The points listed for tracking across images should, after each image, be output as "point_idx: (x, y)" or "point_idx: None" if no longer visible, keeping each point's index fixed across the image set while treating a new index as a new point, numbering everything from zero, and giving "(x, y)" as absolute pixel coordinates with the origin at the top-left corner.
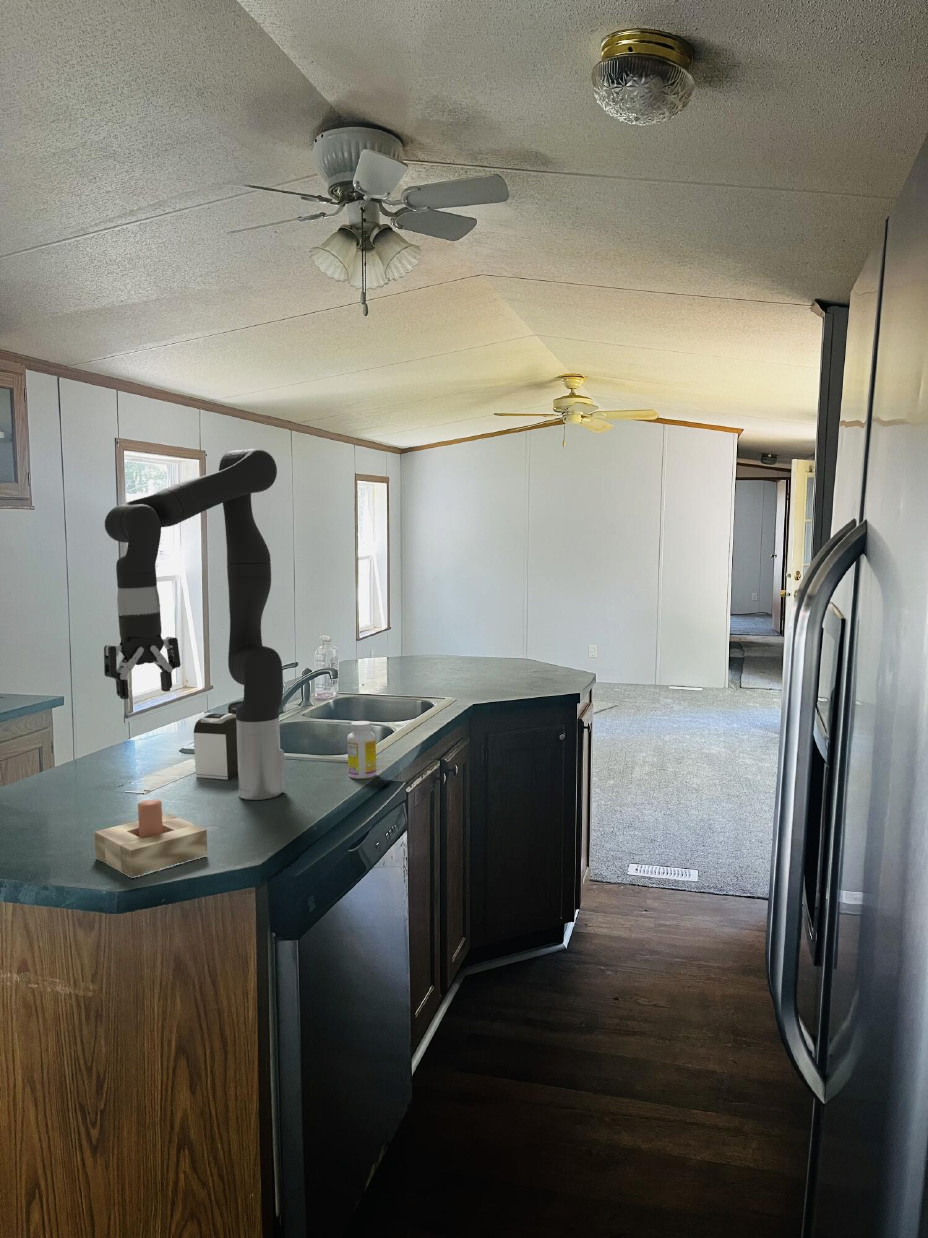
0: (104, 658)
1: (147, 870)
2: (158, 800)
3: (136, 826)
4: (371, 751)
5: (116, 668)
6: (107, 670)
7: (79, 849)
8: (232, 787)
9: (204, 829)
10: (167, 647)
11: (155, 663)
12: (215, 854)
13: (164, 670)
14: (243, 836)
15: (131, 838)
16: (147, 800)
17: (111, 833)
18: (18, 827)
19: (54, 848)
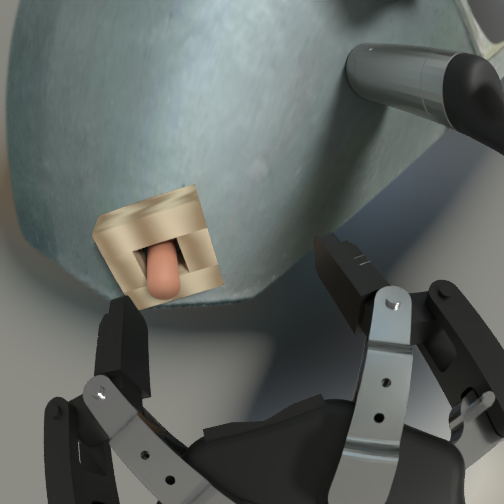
0: (49, 492)
1: None
2: (177, 281)
3: (146, 238)
4: None
5: (111, 461)
6: (60, 434)
7: (79, 168)
8: (358, 11)
9: (222, 283)
10: (449, 423)
11: (365, 353)
12: (227, 259)
13: (367, 329)
14: (276, 219)
15: (136, 279)
16: (162, 275)
17: (113, 252)
18: (20, 33)
19: (51, 150)
